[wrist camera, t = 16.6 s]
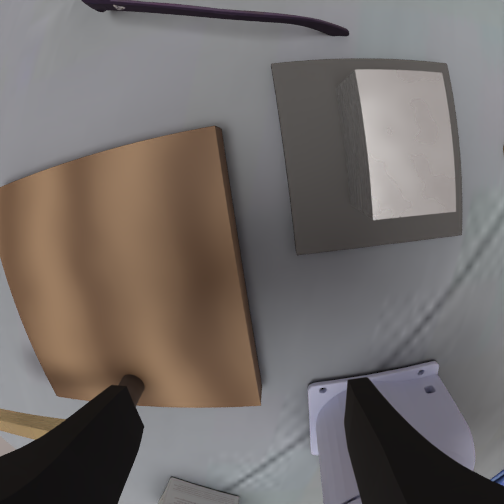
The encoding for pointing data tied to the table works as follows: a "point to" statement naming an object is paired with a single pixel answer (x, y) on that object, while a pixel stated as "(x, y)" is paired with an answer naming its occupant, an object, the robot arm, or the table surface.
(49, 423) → the lever
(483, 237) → the table surface
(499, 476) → the dish towel
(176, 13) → the sunglasses
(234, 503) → the supplement box
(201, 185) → the wooden base
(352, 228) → the rubber mat
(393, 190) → the grey block
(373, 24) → the table surface
